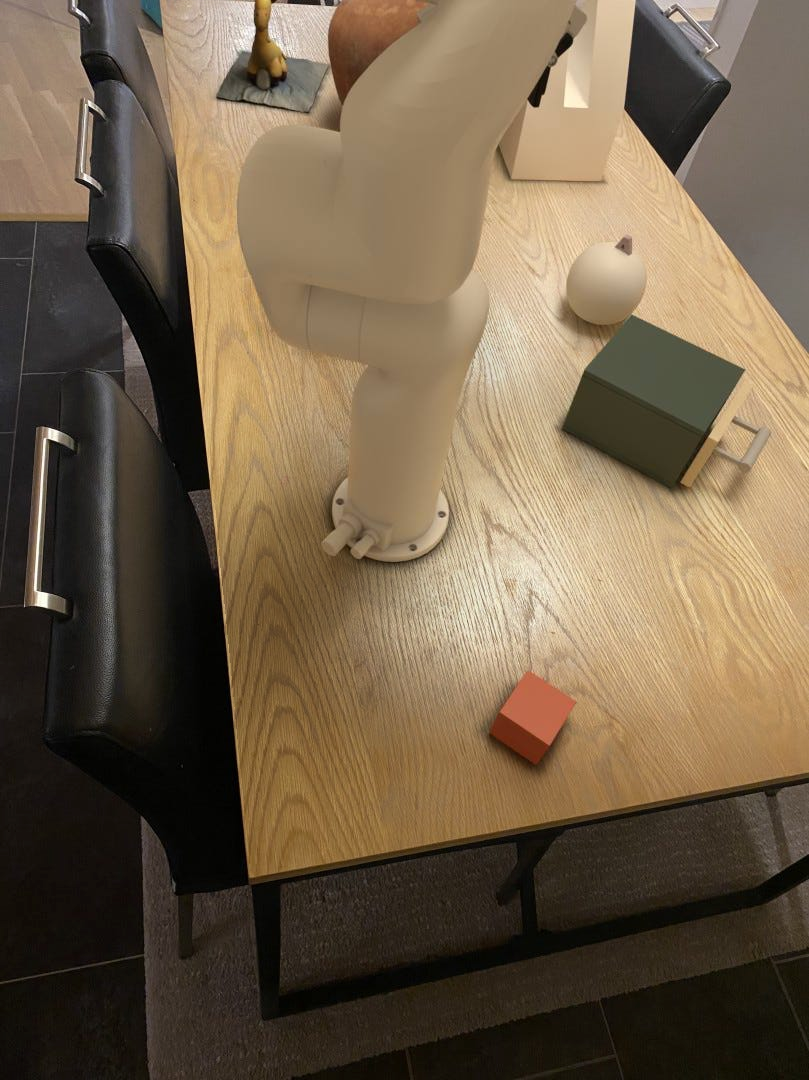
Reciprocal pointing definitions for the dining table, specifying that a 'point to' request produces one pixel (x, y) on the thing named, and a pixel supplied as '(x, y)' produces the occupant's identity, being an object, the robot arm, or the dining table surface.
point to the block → (532, 717)
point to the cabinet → (650, 399)
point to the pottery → (365, 35)
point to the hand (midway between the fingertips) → (488, 102)
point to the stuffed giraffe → (271, 71)
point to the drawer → (718, 432)
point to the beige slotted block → (576, 103)
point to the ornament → (606, 282)
